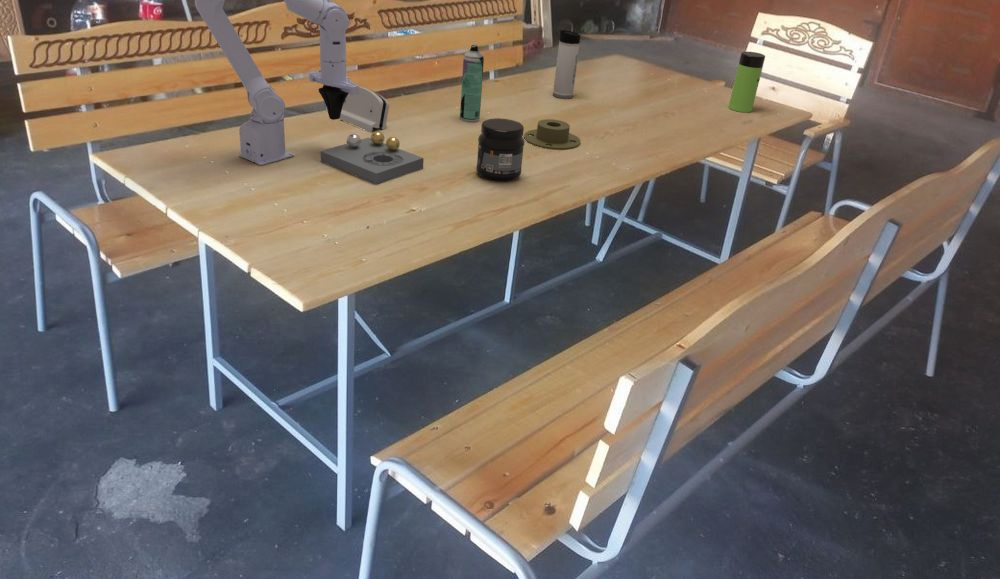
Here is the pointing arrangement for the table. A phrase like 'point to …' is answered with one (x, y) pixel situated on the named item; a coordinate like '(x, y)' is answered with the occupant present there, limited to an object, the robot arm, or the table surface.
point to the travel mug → (566, 64)
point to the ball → (353, 140)
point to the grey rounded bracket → (365, 110)
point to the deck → (372, 161)
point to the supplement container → (500, 150)
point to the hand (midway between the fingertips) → (334, 118)
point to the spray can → (471, 85)
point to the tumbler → (746, 81)
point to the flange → (552, 135)
